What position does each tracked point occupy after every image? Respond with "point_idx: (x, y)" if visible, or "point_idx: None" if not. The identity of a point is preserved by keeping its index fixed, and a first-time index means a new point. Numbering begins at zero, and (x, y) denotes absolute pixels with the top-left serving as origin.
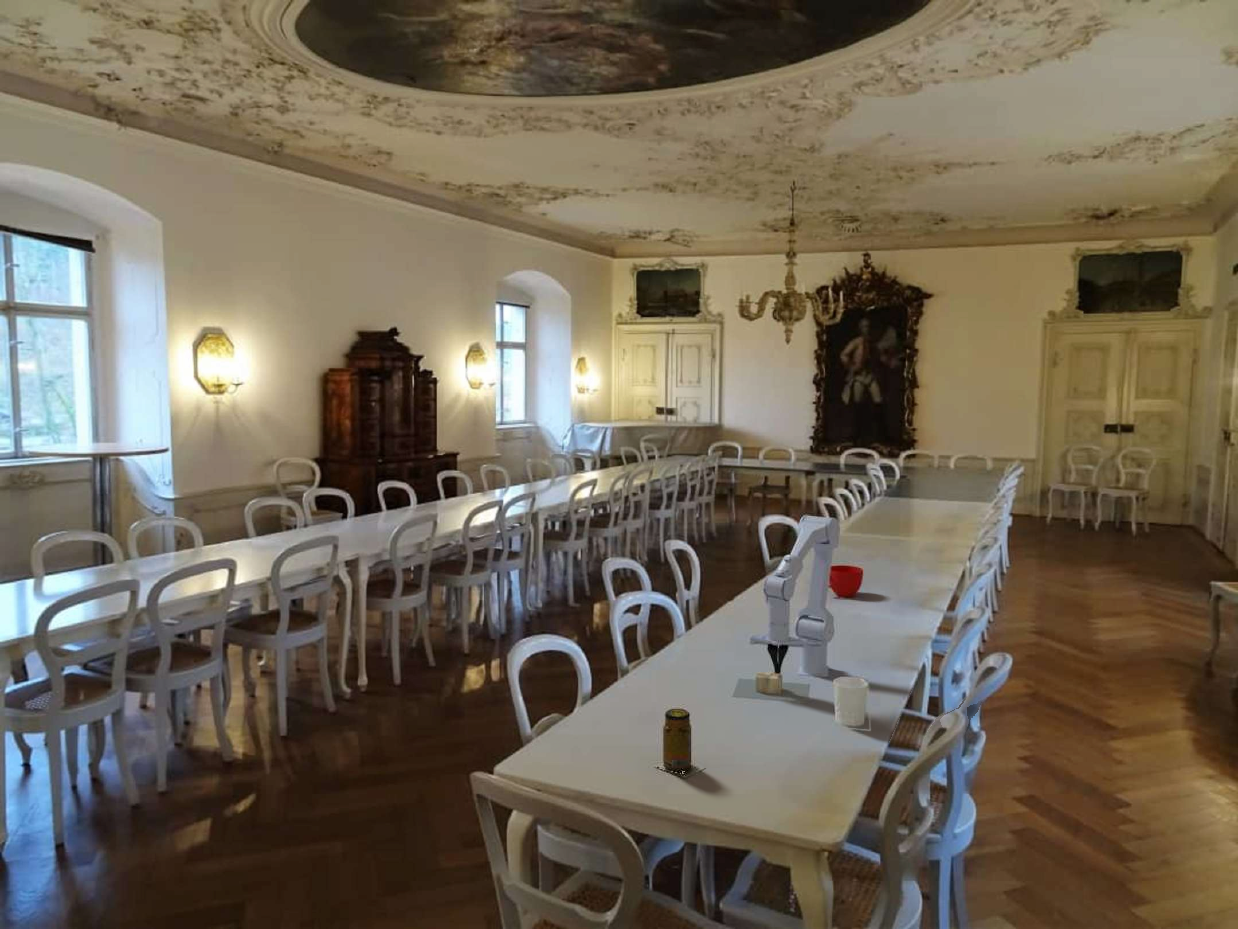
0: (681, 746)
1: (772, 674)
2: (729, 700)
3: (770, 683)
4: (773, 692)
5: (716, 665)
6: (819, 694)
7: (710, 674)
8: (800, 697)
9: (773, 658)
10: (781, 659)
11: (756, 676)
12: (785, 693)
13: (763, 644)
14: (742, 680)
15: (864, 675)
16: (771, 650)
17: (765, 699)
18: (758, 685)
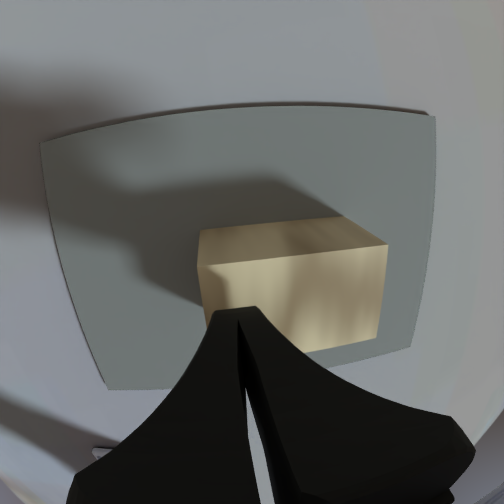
0: None
1: None
2: (434, 87)
3: (274, 241)
4: (244, 227)
5: (445, 407)
6: (38, 306)
7: (476, 342)
8: (83, 212)
9: (312, 384)
10: (189, 397)
11: (384, 255)
12: (174, 244)
13: (490, 495)
14: (400, 333)
15: (32, 461)
16: (419, 459)
17: (274, 106)
18: (345, 228)
